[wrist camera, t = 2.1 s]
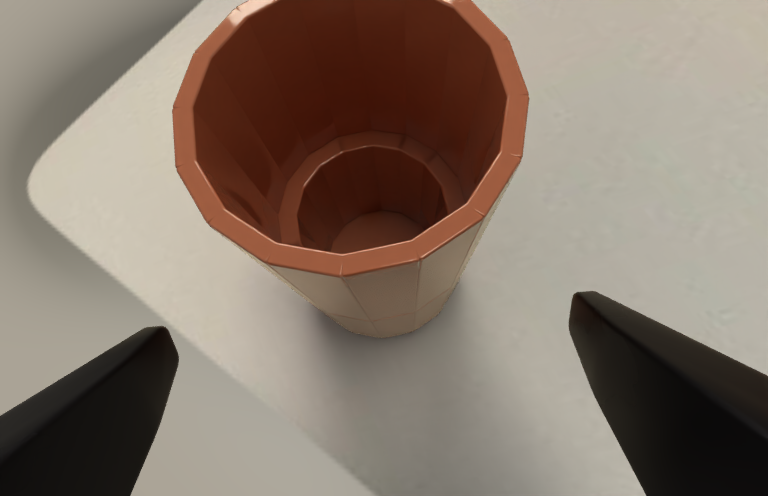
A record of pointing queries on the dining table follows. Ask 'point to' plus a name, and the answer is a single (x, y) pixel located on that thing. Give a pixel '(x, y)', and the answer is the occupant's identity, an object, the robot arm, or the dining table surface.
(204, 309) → the dining table surface
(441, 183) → the orange faceted cup
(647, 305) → the dining table surface
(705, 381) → the robot arm
